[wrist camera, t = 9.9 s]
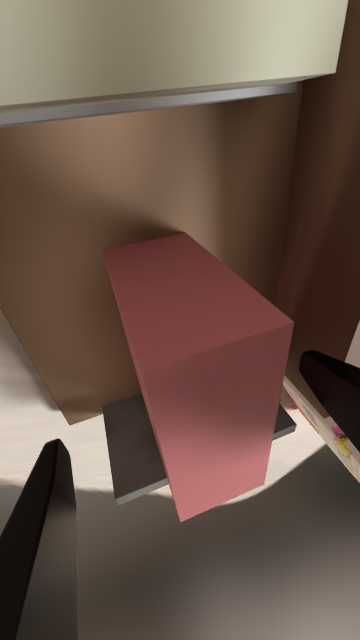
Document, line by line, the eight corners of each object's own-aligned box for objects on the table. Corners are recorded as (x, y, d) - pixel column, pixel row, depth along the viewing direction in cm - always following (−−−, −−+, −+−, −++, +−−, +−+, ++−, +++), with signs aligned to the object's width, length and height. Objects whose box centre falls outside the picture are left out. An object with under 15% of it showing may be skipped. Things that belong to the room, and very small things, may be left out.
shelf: (328, -43, 9) (609, -229, 4) (274, 342, 19) (343, 410, 14) (-188, -49, 6) (-997, -631, 1) (69, 411, 16) (71, 524, 11)
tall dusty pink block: (185, 232, 12) (294, 322, 6) (196, 366, 16) (264, 484, 11) (102, 250, 11) (140, 371, 5) (139, 384, 15) (180, 522, 10)
